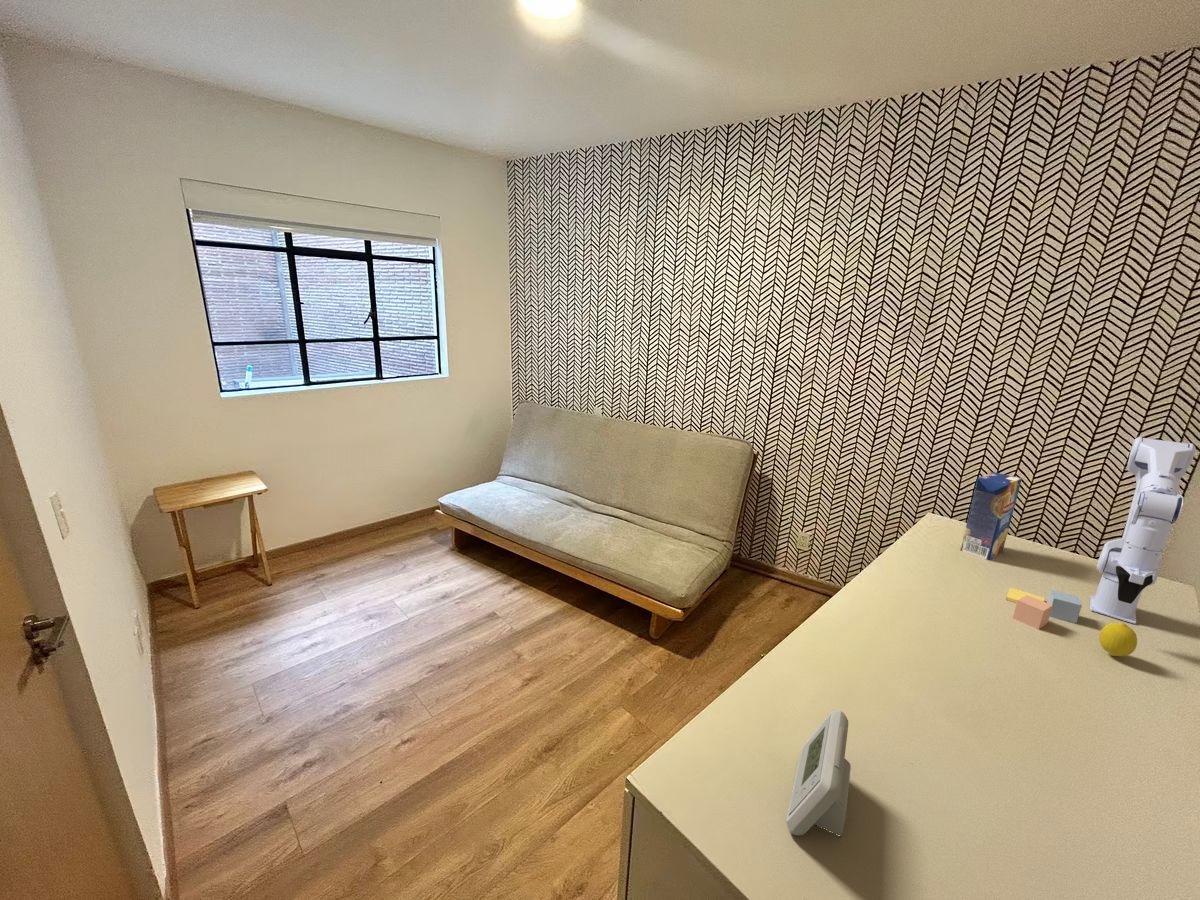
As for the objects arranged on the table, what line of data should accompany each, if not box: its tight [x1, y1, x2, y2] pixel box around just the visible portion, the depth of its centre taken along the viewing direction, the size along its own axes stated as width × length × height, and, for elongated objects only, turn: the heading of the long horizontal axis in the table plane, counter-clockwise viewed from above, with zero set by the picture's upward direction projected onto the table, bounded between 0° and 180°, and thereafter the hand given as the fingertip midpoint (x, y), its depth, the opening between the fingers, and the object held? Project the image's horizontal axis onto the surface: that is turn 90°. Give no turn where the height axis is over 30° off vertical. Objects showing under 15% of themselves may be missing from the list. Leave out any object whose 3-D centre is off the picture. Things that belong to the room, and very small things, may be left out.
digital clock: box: [785, 709, 852, 837], centre depth 71 cm, size 16×9×11 cm, turn 139°
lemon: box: [1098, 622, 1138, 657], centre depth 106 cm, size 6×6×8 cm
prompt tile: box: [1005, 586, 1045, 604], centre depth 127 cm, size 7×7×1 cm
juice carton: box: [960, 471, 1023, 561], centre depth 152 cm, size 12×8×24 cm, turn 125°
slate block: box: [1046, 589, 1083, 624], centre depth 121 cm, size 5×5×5 cm
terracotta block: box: [1012, 595, 1053, 630], centre depth 118 cm, size 5×5×5 cm
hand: (1124, 601), depth 111 cm, fingers closed
